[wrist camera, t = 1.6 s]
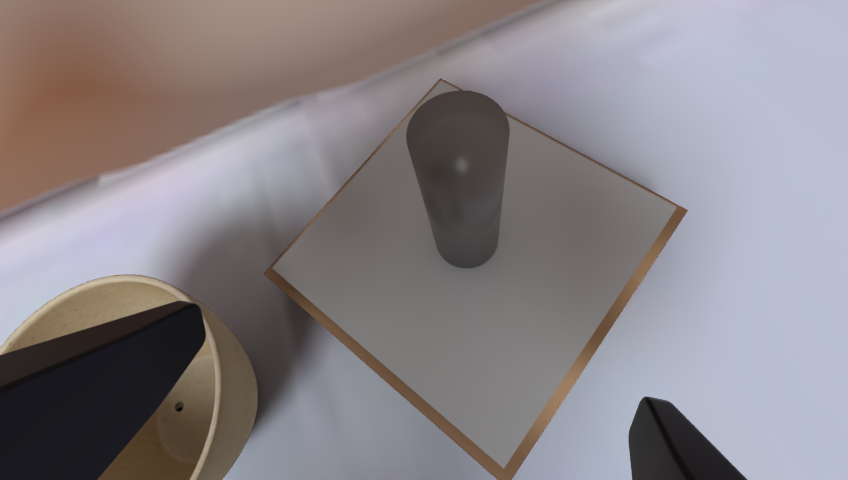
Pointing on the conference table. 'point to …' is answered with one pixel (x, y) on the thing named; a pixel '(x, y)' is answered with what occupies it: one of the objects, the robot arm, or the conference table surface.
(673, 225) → the stand
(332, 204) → the cover
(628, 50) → the conference table surface
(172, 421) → the flower pot
